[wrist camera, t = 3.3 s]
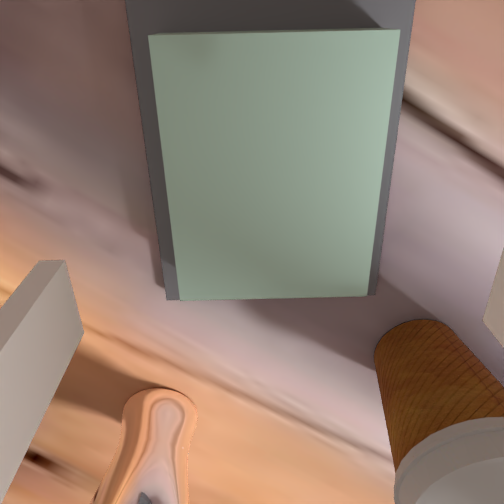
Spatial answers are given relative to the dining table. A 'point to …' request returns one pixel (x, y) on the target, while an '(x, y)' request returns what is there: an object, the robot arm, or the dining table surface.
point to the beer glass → (151, 451)
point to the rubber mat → (256, 19)
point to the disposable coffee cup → (440, 417)
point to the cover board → (273, 157)
